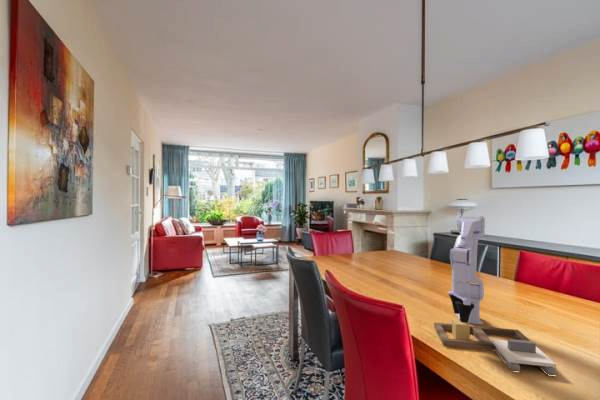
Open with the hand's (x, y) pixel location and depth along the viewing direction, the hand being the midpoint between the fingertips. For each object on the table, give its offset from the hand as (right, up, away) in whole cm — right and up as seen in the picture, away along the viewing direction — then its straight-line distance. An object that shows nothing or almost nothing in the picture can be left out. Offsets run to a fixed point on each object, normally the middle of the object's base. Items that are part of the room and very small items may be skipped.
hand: (460, 317), depth 105 cm
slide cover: (+11, -5, -15) cm, 19 cm away
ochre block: (0, -8, 0) cm, 8 cm away
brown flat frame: (+6, -8, -7) cm, 12 cm away
